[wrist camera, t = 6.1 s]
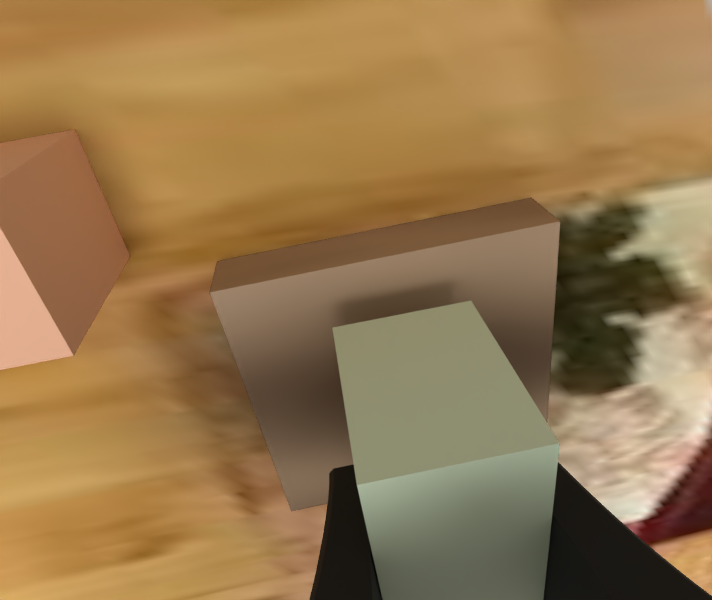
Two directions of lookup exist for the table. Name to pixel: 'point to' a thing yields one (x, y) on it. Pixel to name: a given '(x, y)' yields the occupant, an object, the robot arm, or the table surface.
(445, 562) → the sage brick
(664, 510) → the table surface
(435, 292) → the walnut slab
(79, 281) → the terracotta brick
